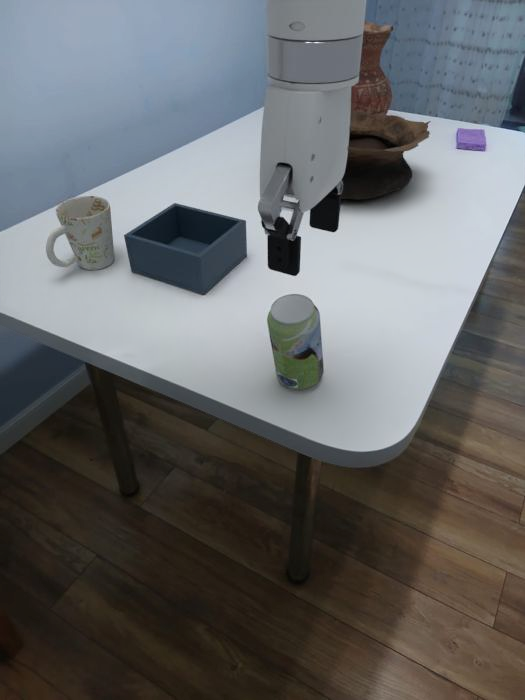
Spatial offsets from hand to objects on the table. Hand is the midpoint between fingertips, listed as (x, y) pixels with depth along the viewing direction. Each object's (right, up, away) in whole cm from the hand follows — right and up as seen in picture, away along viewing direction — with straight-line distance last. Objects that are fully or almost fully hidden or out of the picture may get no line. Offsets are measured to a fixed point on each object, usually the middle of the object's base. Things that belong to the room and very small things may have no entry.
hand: (304, 248), depth 51 cm
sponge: (+51, +44, +80) cm, 104 cm away
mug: (-34, +4, +33) cm, 48 cm away
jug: (+20, +52, +89) cm, 105 cm away
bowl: (+14, +28, +61) cm, 69 cm away
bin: (-17, +4, +34) cm, 38 cm away
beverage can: (0, -14, +12) cm, 19 cm away
